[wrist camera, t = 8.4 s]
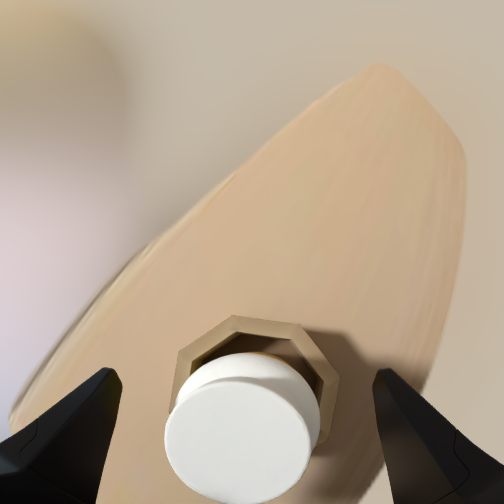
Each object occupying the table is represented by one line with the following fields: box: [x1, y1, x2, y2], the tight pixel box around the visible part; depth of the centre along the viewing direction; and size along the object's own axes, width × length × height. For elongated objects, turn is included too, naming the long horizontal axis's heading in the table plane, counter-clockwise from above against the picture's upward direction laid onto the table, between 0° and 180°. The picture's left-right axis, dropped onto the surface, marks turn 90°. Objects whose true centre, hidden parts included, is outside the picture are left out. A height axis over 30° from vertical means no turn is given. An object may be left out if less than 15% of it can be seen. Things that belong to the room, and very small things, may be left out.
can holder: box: [169, 315, 340, 448], centre depth 14 cm, size 8×8×3 cm
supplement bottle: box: [164, 352, 320, 504], centre depth 10 cm, size 5×5×10 cm
